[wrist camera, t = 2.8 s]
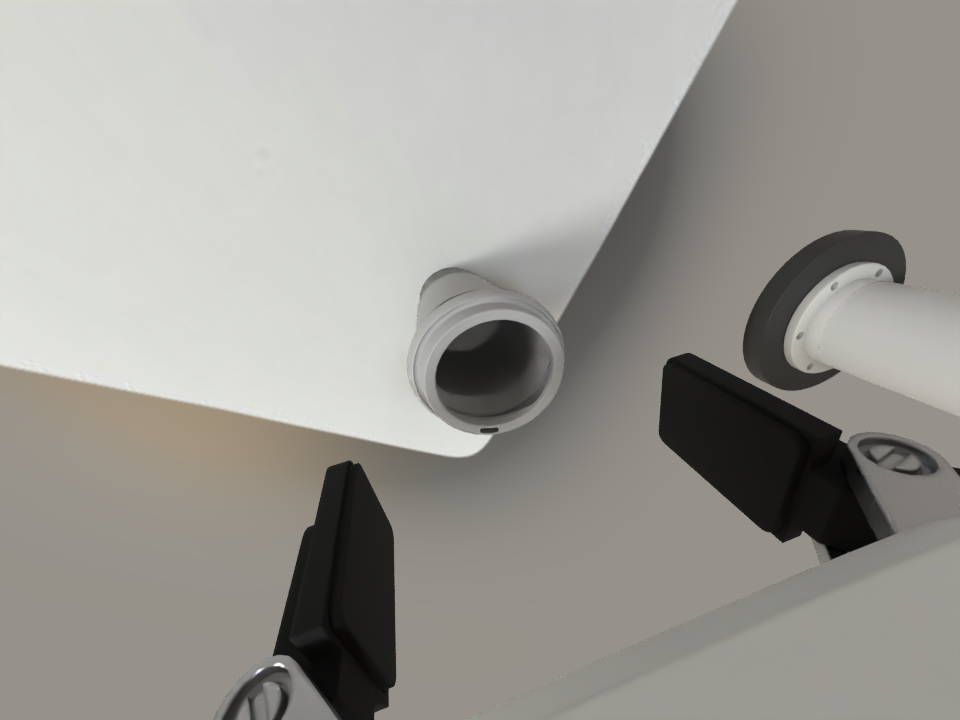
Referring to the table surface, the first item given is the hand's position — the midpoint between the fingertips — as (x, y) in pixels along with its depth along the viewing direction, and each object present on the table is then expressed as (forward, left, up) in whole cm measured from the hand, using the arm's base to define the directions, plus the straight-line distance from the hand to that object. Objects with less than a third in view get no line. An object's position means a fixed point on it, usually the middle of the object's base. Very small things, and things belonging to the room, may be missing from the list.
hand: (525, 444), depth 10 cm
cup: (0, 0, -17) cm, 17 cm away
